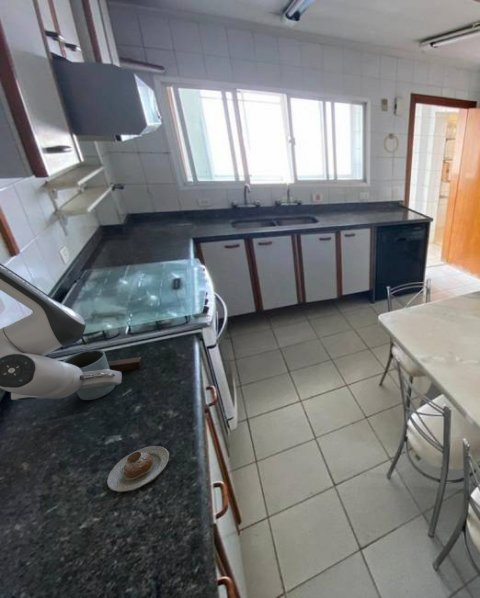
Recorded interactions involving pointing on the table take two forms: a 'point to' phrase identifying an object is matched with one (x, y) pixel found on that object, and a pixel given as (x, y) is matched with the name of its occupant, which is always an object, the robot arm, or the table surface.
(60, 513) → the table surface
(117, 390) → the table surface
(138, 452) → the pastry
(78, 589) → the table surface
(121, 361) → the bar
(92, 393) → the grey green pot
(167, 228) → the table surface
